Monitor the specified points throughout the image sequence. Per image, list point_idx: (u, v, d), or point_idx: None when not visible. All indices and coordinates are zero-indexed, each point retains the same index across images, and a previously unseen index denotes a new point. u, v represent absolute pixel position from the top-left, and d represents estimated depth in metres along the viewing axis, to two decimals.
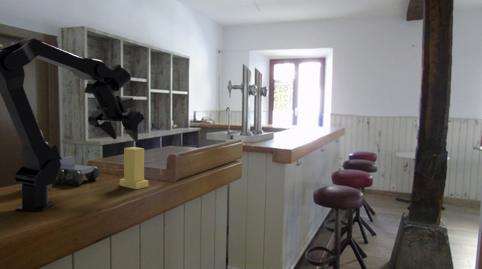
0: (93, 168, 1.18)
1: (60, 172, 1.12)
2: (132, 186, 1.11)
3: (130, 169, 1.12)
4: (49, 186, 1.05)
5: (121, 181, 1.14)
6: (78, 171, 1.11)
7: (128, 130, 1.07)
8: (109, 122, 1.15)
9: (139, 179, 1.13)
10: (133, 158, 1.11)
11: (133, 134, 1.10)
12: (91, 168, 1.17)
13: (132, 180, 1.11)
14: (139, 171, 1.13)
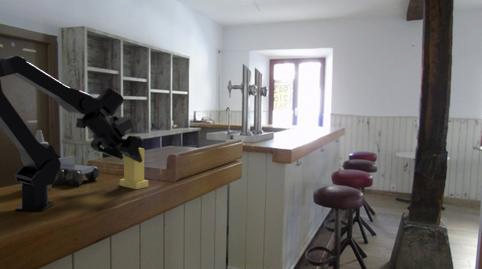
0: (93, 168, 1.18)
1: (60, 172, 1.12)
2: (132, 186, 1.11)
3: (130, 168, 1.12)
4: (49, 186, 1.05)
5: (121, 181, 1.14)
6: (78, 171, 1.11)
7: (128, 156, 1.04)
8: None
9: (139, 179, 1.13)
10: None
11: (135, 157, 1.07)
12: (91, 168, 1.17)
13: (132, 180, 1.11)
14: (139, 171, 1.13)
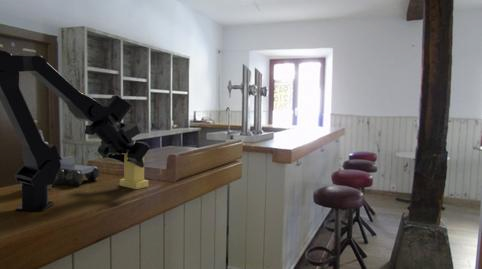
0: (93, 168, 1.18)
1: (60, 172, 1.12)
2: (132, 186, 1.11)
3: (130, 168, 1.12)
4: (49, 186, 1.05)
5: (121, 181, 1.14)
6: (78, 171, 1.11)
7: (131, 162, 1.07)
8: None
9: (139, 179, 1.13)
10: None
11: (137, 163, 1.10)
12: (91, 168, 1.17)
13: (132, 180, 1.11)
14: (139, 171, 1.13)
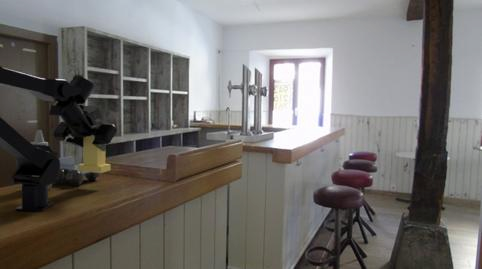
0: None
1: (60, 172, 1.12)
2: (95, 170, 1.07)
3: (92, 152, 1.07)
4: (49, 186, 1.05)
5: (80, 166, 1.08)
6: (78, 171, 1.11)
7: (96, 144, 1.04)
8: None
9: (101, 163, 1.09)
10: None
11: (101, 146, 1.07)
12: None
13: (95, 164, 1.07)
14: (101, 155, 1.09)
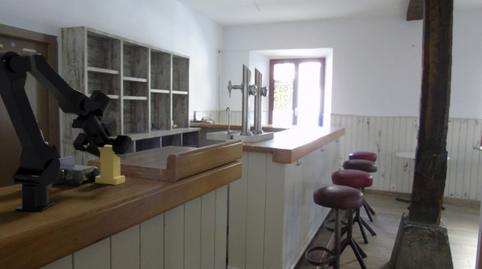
0: (93, 168, 1.18)
1: (60, 172, 1.12)
2: (111, 182, 1.15)
3: (108, 165, 1.16)
4: (49, 186, 1.05)
5: (97, 178, 1.17)
6: (78, 171, 1.11)
7: (118, 154, 1.11)
8: None
9: (117, 175, 1.18)
10: (112, 155, 1.15)
11: (122, 155, 1.14)
12: (91, 168, 1.17)
13: (111, 176, 1.16)
14: (117, 167, 1.18)
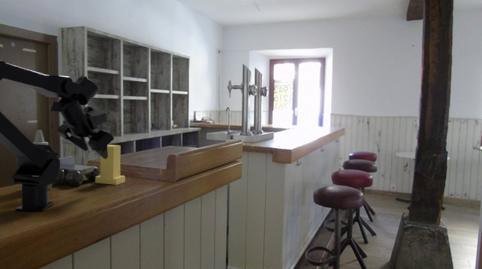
0: (93, 168, 1.18)
1: (60, 172, 1.12)
2: (111, 182, 1.15)
3: (108, 165, 1.16)
4: (49, 186, 1.05)
5: (97, 178, 1.17)
6: (78, 171, 1.11)
7: (95, 151, 1.01)
8: None
9: (117, 175, 1.18)
10: (112, 155, 1.15)
11: (101, 153, 1.04)
12: (91, 168, 1.17)
13: (111, 176, 1.16)
14: (117, 167, 1.18)
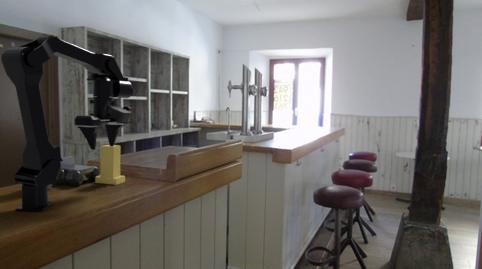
0: (93, 168, 1.18)
1: (60, 172, 1.12)
2: (111, 182, 1.15)
3: (108, 165, 1.16)
4: (49, 186, 1.05)
5: (97, 178, 1.17)
6: (78, 171, 1.11)
7: None
8: (115, 128, 1.12)
9: (117, 175, 1.18)
10: (112, 155, 1.15)
11: (87, 137, 1.02)
12: (91, 168, 1.17)
13: (111, 176, 1.16)
14: (117, 167, 1.18)
